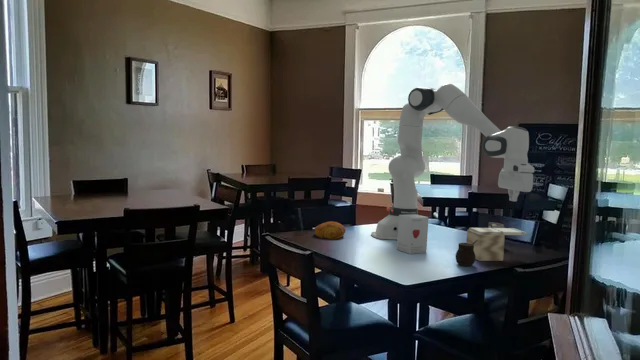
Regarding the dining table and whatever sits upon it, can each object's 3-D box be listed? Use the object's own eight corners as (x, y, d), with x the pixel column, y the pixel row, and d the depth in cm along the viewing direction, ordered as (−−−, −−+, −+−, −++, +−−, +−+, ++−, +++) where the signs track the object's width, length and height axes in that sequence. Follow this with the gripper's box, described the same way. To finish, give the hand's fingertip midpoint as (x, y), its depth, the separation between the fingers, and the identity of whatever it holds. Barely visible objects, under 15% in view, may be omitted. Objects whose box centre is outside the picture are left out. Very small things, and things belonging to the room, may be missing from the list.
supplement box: (409, 254, 203) (411, 217, 202) (396, 249, 211) (398, 214, 210) (427, 253, 207) (429, 216, 206) (413, 248, 215) (415, 213, 214)
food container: (505, 249, 221) (507, 227, 220) (490, 248, 222) (492, 226, 221) (501, 244, 233) (502, 222, 232) (487, 243, 234) (488, 221, 234)
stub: (503, 234, 199) (503, 231, 199) (492, 230, 208) (492, 227, 208) (526, 235, 200) (526, 232, 200) (514, 231, 209) (514, 228, 209)
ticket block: (479, 260, 197) (481, 232, 196) (465, 253, 208) (467, 226, 208) (503, 260, 198) (504, 232, 197) (488, 253, 210) (490, 227, 209)
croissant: (346, 239, 242) (348, 222, 242) (342, 240, 227) (344, 222, 227) (317, 236, 244) (318, 219, 245) (311, 237, 229) (312, 219, 230)
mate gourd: (453, 262, 192) (455, 236, 192) (473, 263, 192) (475, 237, 191) (456, 266, 185) (458, 239, 184) (477, 268, 184) (479, 241, 184)
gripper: (495, 165, 212) (493, 197, 213) (521, 167, 192) (519, 203, 193) (509, 165, 213) (507, 198, 214) (537, 168, 193) (534, 204, 194)
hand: (513, 201), depth 203 cm, fingers closed
